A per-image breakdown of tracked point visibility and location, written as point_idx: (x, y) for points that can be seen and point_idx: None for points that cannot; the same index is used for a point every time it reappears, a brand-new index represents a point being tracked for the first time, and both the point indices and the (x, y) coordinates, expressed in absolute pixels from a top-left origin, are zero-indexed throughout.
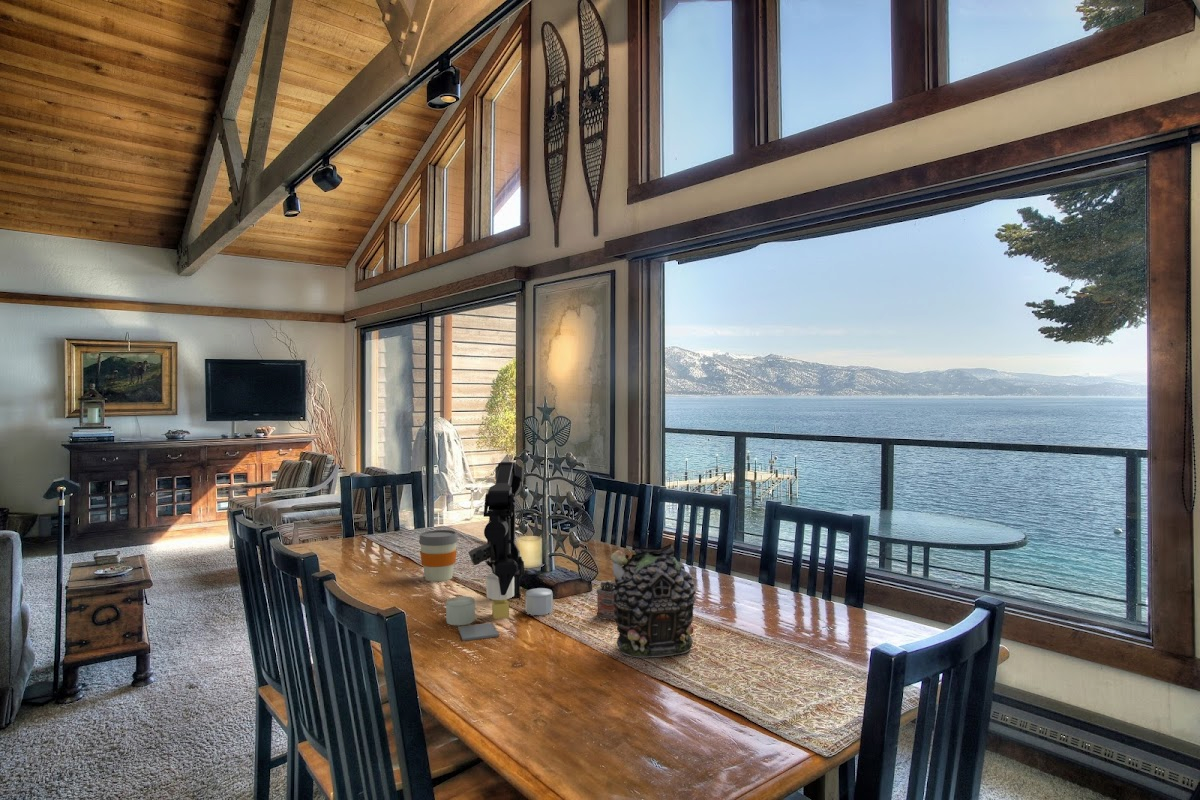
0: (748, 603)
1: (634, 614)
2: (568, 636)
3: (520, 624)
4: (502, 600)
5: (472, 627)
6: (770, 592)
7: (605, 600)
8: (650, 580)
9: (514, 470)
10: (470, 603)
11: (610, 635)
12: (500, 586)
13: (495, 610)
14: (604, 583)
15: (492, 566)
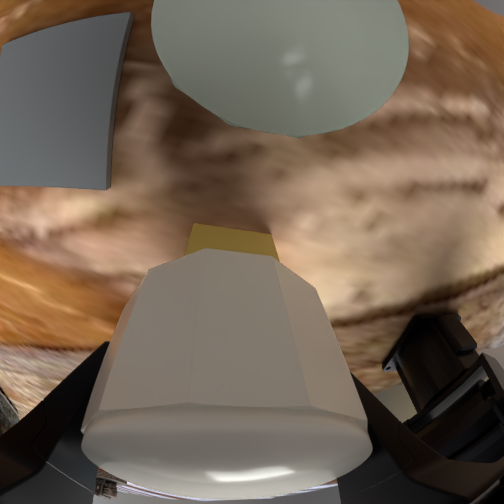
0: (140, 486)
1: None
2: (6, 343)
3: (88, 293)
4: None
5: (82, 79)
6: (170, 496)
7: None
8: None
9: None
10: (166, 68)
11: (21, 388)
12: (57, 389)
13: (186, 248)
14: (104, 492)
15: (412, 497)
